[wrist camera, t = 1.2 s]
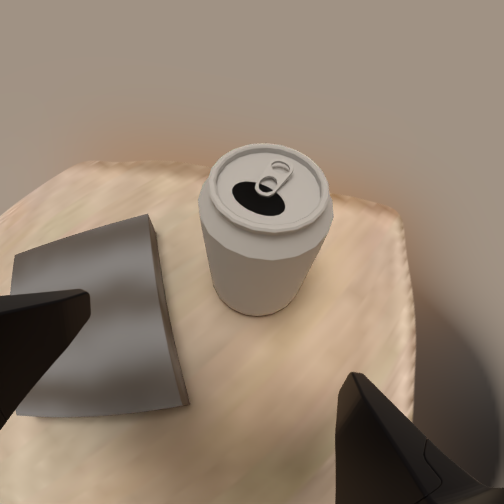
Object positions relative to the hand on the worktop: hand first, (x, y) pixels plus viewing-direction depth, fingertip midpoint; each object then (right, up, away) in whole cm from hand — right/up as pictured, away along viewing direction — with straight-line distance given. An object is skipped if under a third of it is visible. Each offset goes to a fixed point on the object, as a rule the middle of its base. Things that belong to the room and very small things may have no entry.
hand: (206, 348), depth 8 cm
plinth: (-13, -4, +12) cm, 19 cm away
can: (+2, +1, +16) cm, 16 cm away
